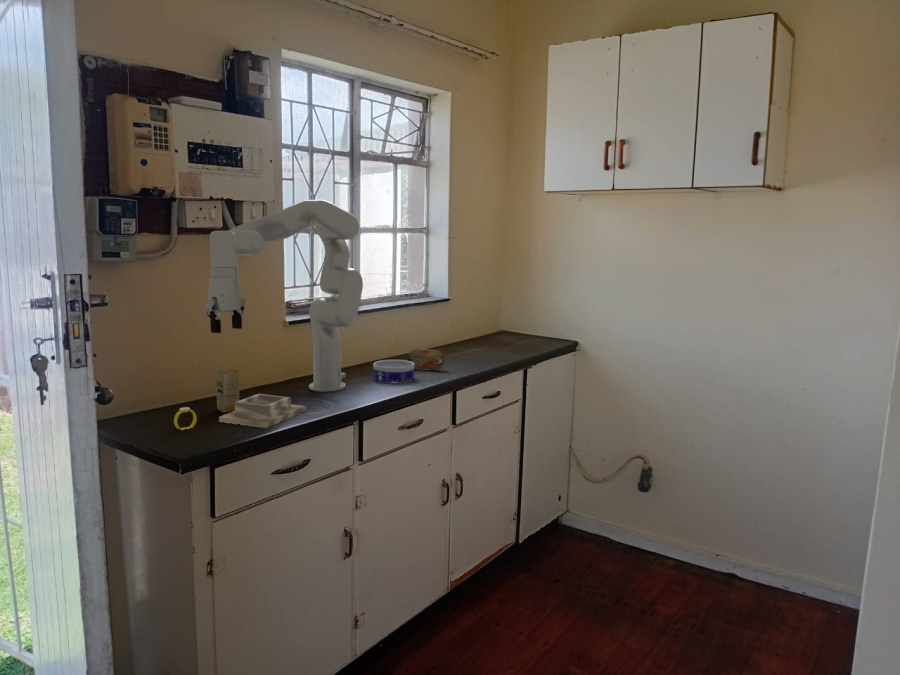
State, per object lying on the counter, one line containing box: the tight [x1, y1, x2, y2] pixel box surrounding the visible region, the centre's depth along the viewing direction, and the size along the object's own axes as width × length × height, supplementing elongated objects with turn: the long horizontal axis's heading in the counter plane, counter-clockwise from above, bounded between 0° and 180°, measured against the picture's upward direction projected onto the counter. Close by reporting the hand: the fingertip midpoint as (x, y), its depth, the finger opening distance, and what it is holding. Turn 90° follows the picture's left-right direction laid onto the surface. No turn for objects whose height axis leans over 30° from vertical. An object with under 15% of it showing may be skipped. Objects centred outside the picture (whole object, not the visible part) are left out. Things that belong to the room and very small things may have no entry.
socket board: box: [218, 393, 306, 429], centre depth 201 cm, size 20×16×5 cm
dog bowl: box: [372, 359, 415, 383], centre depth 254 cm, size 15×15×6 cm
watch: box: [173, 406, 198, 431], centre depth 187 cm, size 6×3×6 cm, turn 139°
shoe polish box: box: [215, 368, 240, 414], centre depth 207 cm, size 5×5×12 cm
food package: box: [406, 348, 446, 371], centre depth 271 cm, size 15×3×8 cm, turn 76°
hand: (226, 330), depth 203 cm, fingers open, 9 cm apart
